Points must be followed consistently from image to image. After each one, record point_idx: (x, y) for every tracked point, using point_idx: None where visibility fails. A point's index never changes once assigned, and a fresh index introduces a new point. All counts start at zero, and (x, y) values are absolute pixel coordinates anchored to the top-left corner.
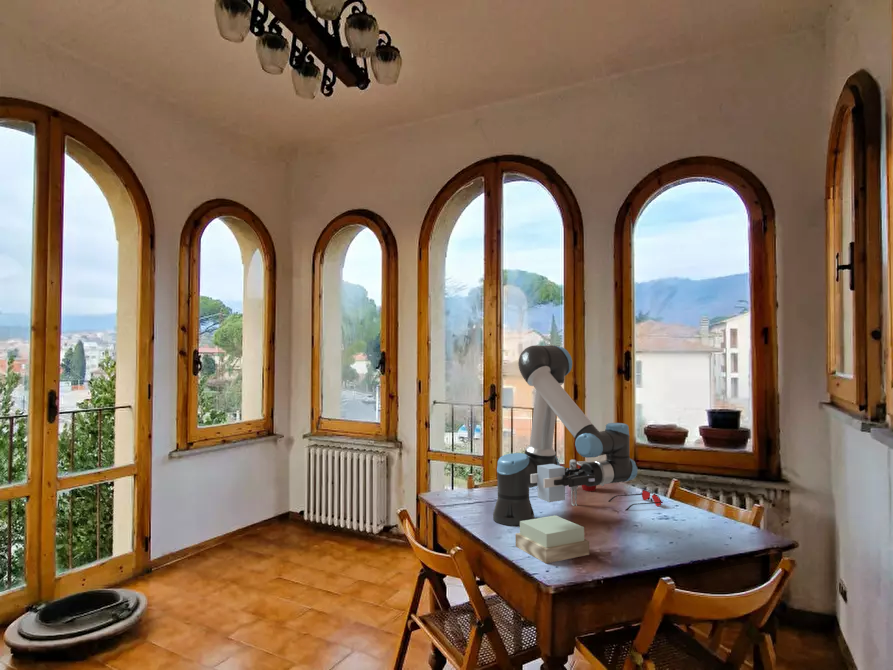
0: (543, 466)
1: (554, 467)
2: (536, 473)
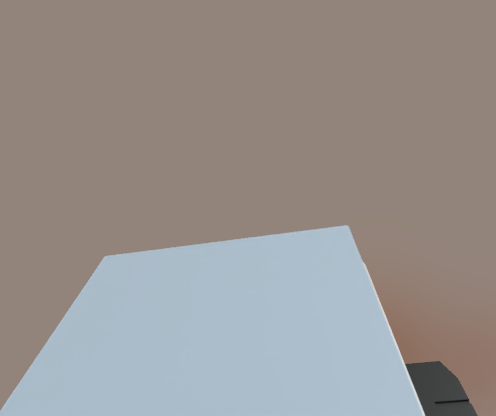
0: (261, 256)
1: (103, 339)
2: (382, 312)
